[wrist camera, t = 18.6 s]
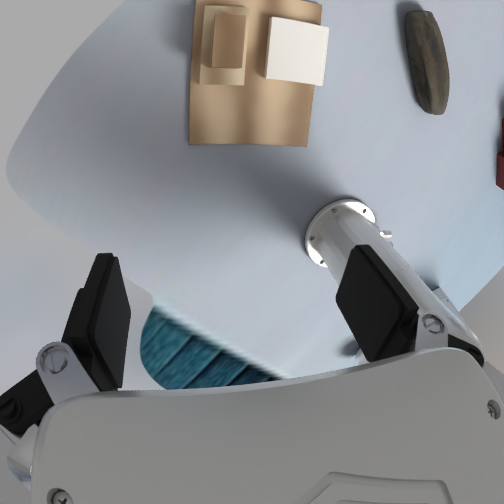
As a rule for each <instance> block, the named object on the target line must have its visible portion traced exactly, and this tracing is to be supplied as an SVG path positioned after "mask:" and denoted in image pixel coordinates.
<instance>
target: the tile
mask: <svg viewBox="0 0 504 504" xmlns="http://www.w3.org/2000/svg"><path fill="white" fill-rule="evenodd" d="M328 34H329V28H328V27H324V26H319V25H315V24H310V23H306V22H301V21H295V20H290V19H284V18H278V17H271V18H270V19H269V29H268V40H267V50H266V61H265V71H264V78H265V79H275V80H284V81H292V82H299V83H306V84H313V85H319V86H323V78H324V70H325V61H326V53H327V43H328Z"/></svg>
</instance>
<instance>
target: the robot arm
mask: <svg viewBox="0 0 504 504" xmlns="http://www.w3.org/2000/svg"><path fill="white" fill-rule="evenodd" d="M391 236H392V234H391V231H381V230H380V229H379V228H378V227H377V226H376V225H375V218H374V215H373V213H372V211H371V210H370V209H369V208H368V207H367V206H366V205H365V204H364V203H362V202H360V201H357V200H353V199H344V200H339V201H336V202H333V203H331V204H329V205H327V206H326V207H324V208H323V209H322V210H320V211H319V212H318V213H317V214H316V216H315V217H314V218H313V219H312V221H311V222H310V224H309V226H308V228H307V231H306V235H305V247H306V251H307V253H308V255H309V256H310V258H311V259H312V260H313V261H314V262H315V263H316V264H318V265H320V266H323V267H327V268H328V269H329V270H330V272H331V274H332V275H333V277H334V279H335V280H336V282H337V284H338V285H339V288H338V291H337V294H336V303H337V305H338V307H339V309H340V310H341V312H342V314H343V316H344V318H345V320H346V322H347V324H348V325H349V327H350V329H351V331H352V333H353V335H354V337H355V339H356V341H357V343H358V345H359V347H360V349H361V350H362V352H363V354H364V356H365V358H366V360H367V361H368V362H370V363H367V364H362V365H358V366H354V367H349V368H345V369H340V370H335V371H331V372H326V373H320V374H315V375H310V376H304V377H298V378H292V379H285V380H279V381H271V382H264V383H256V384H247V385H237V386H227V387H215V388H200V389H177V390H145V391H144V390H137V391H136V390H135V391H134V390H131V391H118V388H122V383H123V372H124V363H125V354H126V346H127V338H128V331H129V324H130V318H131V310H130V306H129V302H128V298H127V294H126V290H125V286H124V282H123V278H122V274H121V269H120V265H119V260H118V258H117V257H114V256H113V254H112V253H99V254H97V256H96V258H95V261H94V263H93V265H92V268H91V271H90V273H89V276H88V278H87V281H86V284H85V286H84V288H80V289H79V291H78V293H77V296H76V298H75V301H74V303H73V307H72V309H71V312H70V315H69V318H68V321H67V324H66V327H65V331H64V334H63V337H62V340H61V342H52V343H50V344H47V345H46V346H44V347H43V348H42V349H41V350H40V351H39V353H38V355H37V358H36V368H37V369H36V370H35V371H34V372H32V373H31V374H30V375H28V376H27V377H25V378H24V379H23V380H21V381H20V382H18V383H17V384H16V385H14V386H13V387H11V388H10V389H9V390H8V391H6V392H5V393H3V394H2V395H1V396H0V504H504V375H503V374H502V373H501V372H500V371H498V370H497V369H496V368H495V367H493V366H492V365H491V364H490V363H489V362H486V363H484V352H483V349H482V346H481V344H480V342H479V340H478V339H477V337H476V336H475V335H474V333H473V332H472V331H471V330H470V329H469V328H468V327H467V326H466V325H465V324H464V323H463V322H462V321H461V320H460V319H459V318H458V317H456V316H455V315H454V314H453V313H452V312H451V311H450V310H449V309H448V308H447V307H446V306H445V305H444V304H443V303H442V302H441V301H440V300H439V299H438V298H437V297H436V295H435V294H434V293H433V292H432V291H431V290H430V289H429V287H428V286H427V285H426V284H425V283H424V282H423V281H422V279H421V278H420V277H419V276H418V275H417V274H416V272H415V271H414V270H413V269H412V268H411V267H410V266H409V264H408V263H407V262H406V261H405V260H404V259H403V258H402V257H401V255H400V254H399V253H398V252H397V251H396V250H395V249H394V248H393V244H392V242H390V241H387V240H386V239H390V238H391ZM31 465H32V469H31V475H30V468H31Z"/></svg>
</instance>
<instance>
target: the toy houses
mask: <svg viewBox="0 0 504 504" xmlns="http://www.w3.org/2000/svg"><path fill="white" fill-rule="evenodd" d="M502 136H503V151H502V152H500V153H498V154H497V177H496V185H497V186H498V187H500V188H501V189H503V190H504V119H502Z"/></svg>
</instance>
